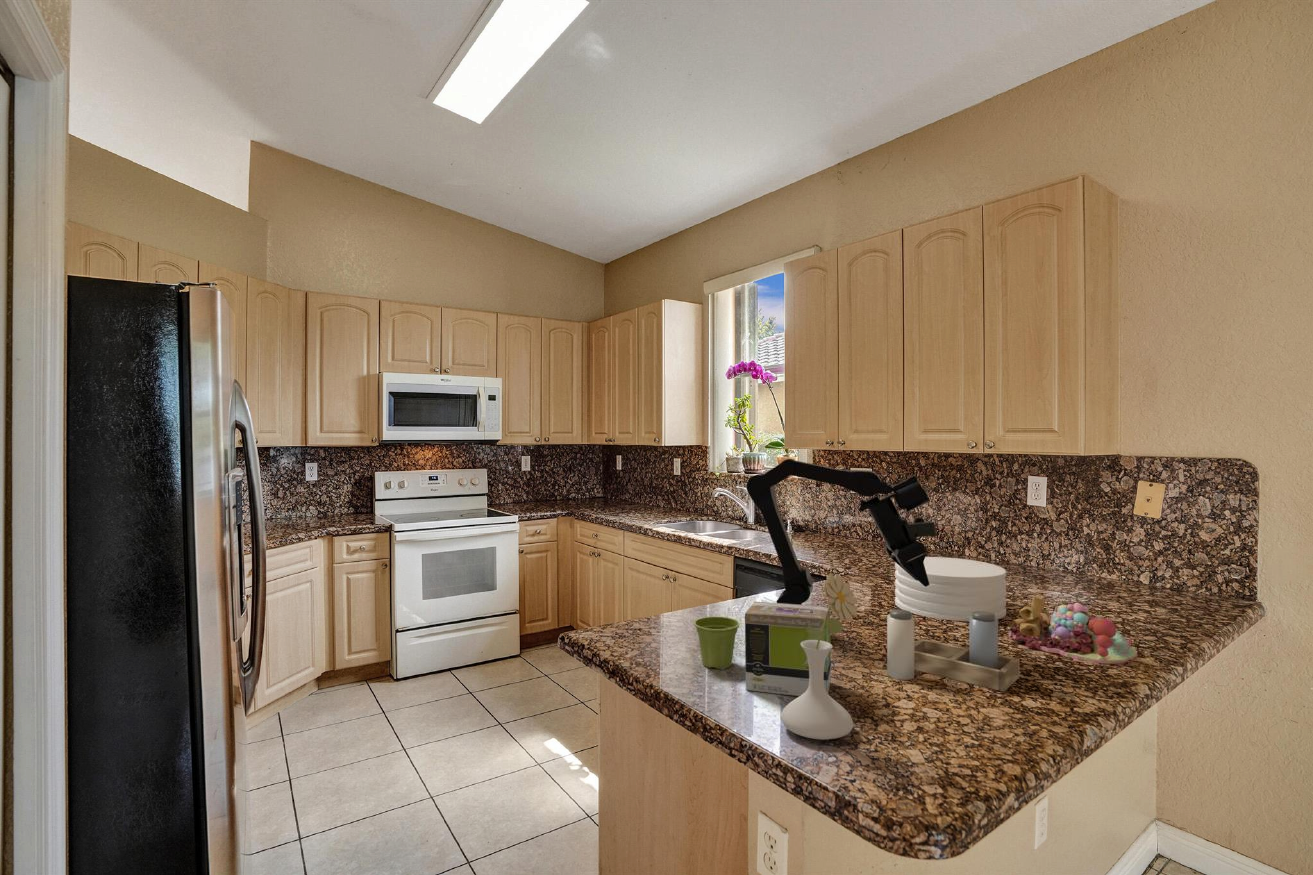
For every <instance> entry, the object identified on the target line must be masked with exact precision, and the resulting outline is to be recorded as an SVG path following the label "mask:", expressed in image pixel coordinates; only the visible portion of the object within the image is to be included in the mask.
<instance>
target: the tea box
mask: <svg viewBox="0 0 1313 875" xmlns="http://www.w3.org/2000/svg"><path fill="white" fill-rule="evenodd" d="M828 609H829V606H828V605H827V606H825V605H809V604H802V605H798V604H784V603H777V602H766V601H754V602H753V603H752V604H751V606H750V607H749V608H748V609H747V610H746V611H745V613H744V637H745V638H744V648H745V649H744V660H745V663H744V664H745V665H744V666H745V689H746V690H745V691H752V692H760V693H761V692H762V693H769V694H777V695H787V696H795V697H799V696H801V695H802V694H803V693H805V692H806V691H807V689H808V686H809V664H808V659H807V656H806V653H805V651H804V649H803V648H802V646H801V642H803V641H806V640H818V638H819V635H814V634H811V633H808V632H807V628H808V625H809V626H811V627H812V628H814V629H816V630H820V631H821V629H822V626H823V624H824V620H825V617H826V614H827V611H828ZM829 618H831V611H830V612H829V614H828V617H827V621H828V619H829ZM827 621H826V622H827ZM820 641H825V642H828V643H830V644H831V631H829V630H828V628H827V627H826V624H825V627H824V630H823V634H822V636H821V639H820ZM831 650H832V649H831ZM831 650H830V651H829V653H828V654H827V657H826V660H825V665H824V688H825V690H826V692H827V694H828V695H829V691H830V690H829V689H830V685H831V679H832V676H831V675H832V665H831V664H832V656H831V655H832V654H831Z"/></svg>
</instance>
